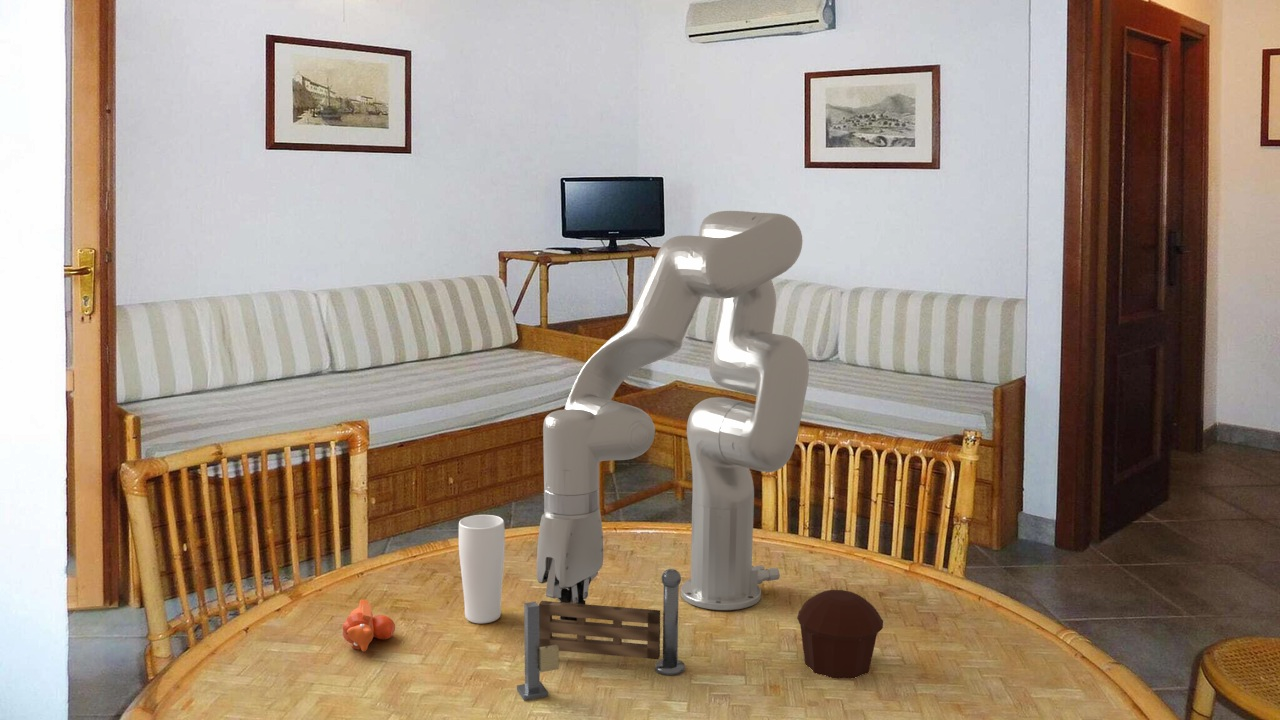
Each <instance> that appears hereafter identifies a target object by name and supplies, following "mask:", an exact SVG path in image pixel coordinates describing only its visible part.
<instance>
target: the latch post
mask: <svg viewBox="0 0 1280 720" xmlns="http://www.w3.org/2000/svg"><path fill="white" fill-rule="evenodd" d="M523 606H524V608H523V609H524V610H523V611H524V612H523V613H524V616H523V617H524V618H523V619H524V620H523V621H524V626H523V627H524V683H523V684H517V685H516V691H517V693H518V694H519V695H520V697H521V699H522V700H523V701H529V700H534V699H541V698H546V697H549V691H548V689H547V688H546V687H545V686H544V684H543V683H542V682H541V681H540V680H541V679H540V677H541V676H540V673H543V672H544V673H545V672H549V671H556V670H559V669H560V667H559V666H560V663H559V660H560V659H559V658H560V657H559V655H560V651H559V647H558V646H557V645H551V646H545V647H539V603H537V601H530V602H524V603H523Z"/></svg>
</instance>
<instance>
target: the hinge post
mask: <svg viewBox="0 0 1280 720" xmlns="http://www.w3.org/2000/svg"><path fill="white" fill-rule="evenodd" d="M681 582H682V577H681V573H680V572H679V570H676V569H675V568H668V569H666V570H664V571H663V572H662V575H661V583H662V585H663V599H662V600H663V601H662V602H663V605H662V606H663V609H662V611H663V612H662V613H663V614H662V620H663V621H662V659H658V660H657V661H656V662H655V663H654V670H655V672H656V673H658V674H659V675H662V676H667V677H668V676H670V677H672V676H673V677H675V676H678V675H681V674H684V672H685V670H686V666H685V665H686V664H685V663H684V662H683V661H682V660H680V659H678V651H679V649H678V648H679V647H678V646H679V645H678V644H679V642H678V641H679V599H680V598H679V591H680V590H679V587H680V584H681Z"/></svg>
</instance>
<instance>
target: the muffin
mask: <svg viewBox="0 0 1280 720" xmlns="http://www.w3.org/2000/svg"><path fill="white" fill-rule="evenodd" d="M796 618H797V620H798V623H799V626H800V633H801V641H802V649H803V656H804V657H803V658H804V665H805V664H806V665H807V666H806V665H805V666H806V667H808V668H809V667H810V668H811V669H812V670H813V671H812V670H811V669H810V668H809V669H810V670H811V671H812V672H813V673H814V674H816V673H817V675H820V674H822V675H821V676H824V675H826V676H825V677H827V676H828V678H830V677H831V679H833V678H837V679H851V678H855V677H857V678H858V676H859V677H861V676H863V675H862V674H864V675H866V674H865V673H868V672H869V671H870V667H871V665H870V664H872V659H873V655H874V649H875V645H876V642H877V640H876V639H877V636H878V633H880V631H881V630H883V628H884V620H883V619H882V617H881V615H880V613H879V612H878V611H877V609H876V608H875V606H874V605H872V604H871V603H870V602H869V601H868V600H867V599H866V598H864V597H862V596H861V595H859V594H857V593H855V592H852V591H848V590H844V589H829V590H823V591H822V592H819V593H817V594H815V595H813V596H812V597H810V598H808V599H807V600H806V601H805V602H804V603H803V605H802V606H801V608H800V610H798V615H797V617H796ZM868 674H869V673H868ZM860 675H861V676H860ZM855 679H856V678H855Z"/></svg>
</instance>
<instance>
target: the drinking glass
mask: <svg viewBox="0 0 1280 720" xmlns="http://www.w3.org/2000/svg"><path fill="white" fill-rule="evenodd" d="M505 530H506V529H505V521H504V519H503V518H502V517H500V516H498V515H492V514H474V515H470V516H465V517H463V518H461V519H460V520H459V521H458V534H457V535H458V541H457V542H458V554H459V563H460V564H459V565H460V571H461V573H460V574H461V582H462V592H463V602H464V603H463V604H464V617H465V619H466V620H467V621H468V622H470V623H473V624H488V623H493V622H495V621H497V620H499V618H500V617H501V612H502V593H503V592H502V590H503V580H504V579H503V575H504V564H505V552H506V551H505V549H506V533H505V532H506V531H505Z"/></svg>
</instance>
